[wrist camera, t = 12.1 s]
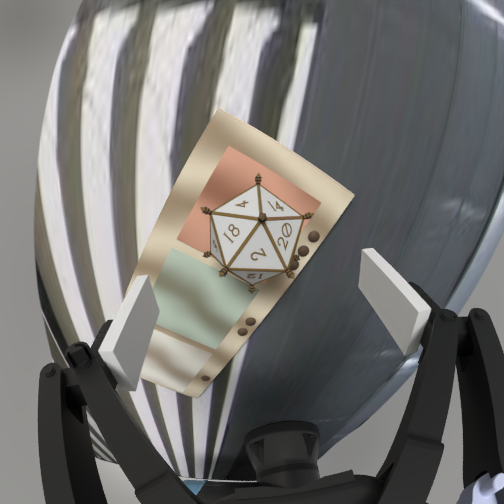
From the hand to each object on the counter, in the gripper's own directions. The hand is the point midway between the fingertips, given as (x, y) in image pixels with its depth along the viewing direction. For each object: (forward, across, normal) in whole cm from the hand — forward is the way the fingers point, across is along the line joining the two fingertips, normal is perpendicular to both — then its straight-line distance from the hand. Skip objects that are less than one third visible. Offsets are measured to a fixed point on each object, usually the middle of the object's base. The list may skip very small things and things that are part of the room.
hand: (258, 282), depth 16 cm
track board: (+12, +7, +8) cm, 16 cm away
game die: (+11, 0, 0) cm, 11 cm away
